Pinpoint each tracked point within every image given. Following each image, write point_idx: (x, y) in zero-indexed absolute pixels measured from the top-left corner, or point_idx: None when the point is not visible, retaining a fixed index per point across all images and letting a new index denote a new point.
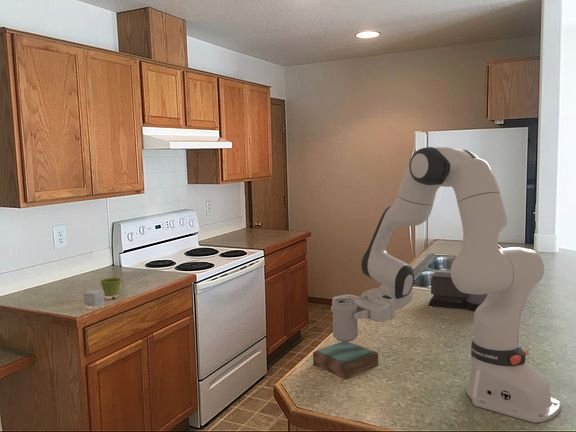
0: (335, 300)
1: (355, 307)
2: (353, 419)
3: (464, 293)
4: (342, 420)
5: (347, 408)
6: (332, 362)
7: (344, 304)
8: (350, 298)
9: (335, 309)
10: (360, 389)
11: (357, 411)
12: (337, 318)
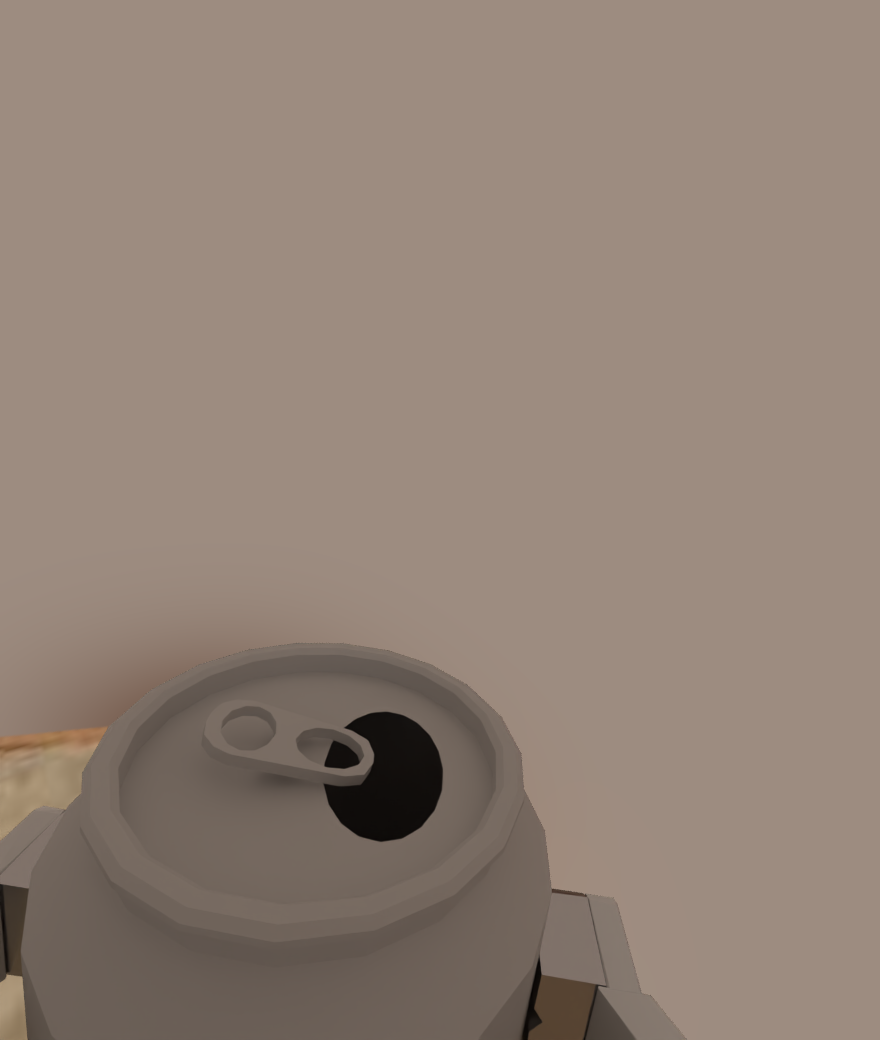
0: (462, 690)
1: (60, 821)
2: (34, 749)
3: None
4: (81, 730)
5: (73, 791)
6: None
7: (250, 661)
8: (279, 916)
9: (374, 714)
10: (7, 988)
11: (18, 793)
12: (332, 805)
